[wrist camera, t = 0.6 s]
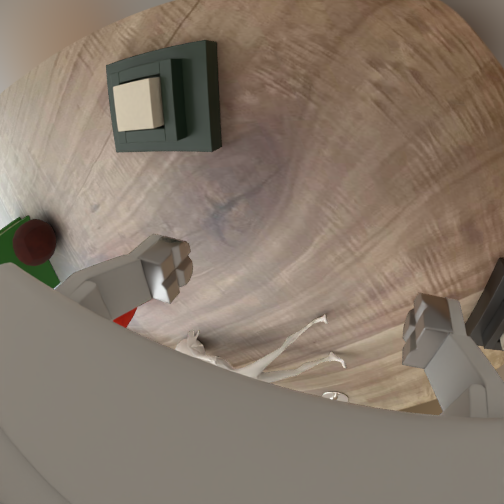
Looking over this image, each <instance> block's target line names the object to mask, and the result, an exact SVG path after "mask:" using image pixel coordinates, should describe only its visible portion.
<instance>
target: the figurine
mask: <svg viewBox="0 0 504 504" xmlns="http://www.w3.org/2000/svg"><path fill="white" fill-rule="evenodd" d="M320 321H324V322H325V323H327V324H328V319H327V316H326V314H324V316H322V317H318V318H315V319H314V320H312V321H311V322H310V323H309V324H308V325H307V326H305V327H304V328H303V329H301V330H300V331H298V332H296V333H294V334H292V335H291V336H289V337H288V338H287V339H286V340H285V342H284V343H283V345H282V346H281V347H280V348H279V349H277V350H275V351H273V352H272V353H270V354H268V355H266V356H264V357H263V358H261V359H259V360H258V361H256V362H254V363H253V364H249V365H247V366H245V367H243V368H240V369H236V368H234V367H233V366H232V365H231V364H230V363H229V362H228V361H227V360H225V359H224V358H221V357H219V356H211V355H205V349H204V346H203V344H201V343H200V342H199V341H198V340H197V337H198V335H199V333H200V331H199V330H198V332H197V334H196V336H195V337H194V330H191V331H189V332H188V336H187V338H186V339H184V340H182V341H180V342H179V343H178V345H177V346H176V349H175V350H177V351H179V352H182V353H184V354H187V355H189V356H192V357H194V358H197V359H200V360H202V361H205V362H208V363H210V364H213V365H216V366H219V367H221V368H224V369H227V370H230V371H233V372H236V373H239V374H242V375H245V376H248V377H251V378H254V379H258V380H261V381H264V382H267V383H270V382H274V381H278V380H281V379H284V378H287V377H291V376H297V375H298V374H300V373H301V372H304V371H306V370H308V369H310V368H311V367H313V366H315V365H317V364H319V363H321V362H324V361H331V360H336V361H339V362H341V363H342V365H343V367H344V368H345V369H346V363H345V361H344V360H342V359H341V358H339V357H338V356H336V355H335V354H334V353H332V352H330V354H329V356H328V357H326V358H323V359H320V360H317V361H313V362H306V363H304V364H302V365H301V366H300V367H299V368H297V369H295V370H281V371H273V372H266V373H264V372H262V371H263V370H264V369H265V368H266V367H267V366H268V365H269V364H270V363H271V362H272V361H273V360H274V359H276V358H277V357H278V356H279V355H280V354H281V353H282V352H283V351H284V350H285V349H286V348H287V347H288V346H289V345H291V344H292V343H293V342H294V341H295V340H296V339H297V338H298V337H299V336H300V335H301V334H302V333H303V332H304V331H305V330H306V329H307V328H309V327H310V326H311V325H312V324H313V323H317V322H320Z"/></svg>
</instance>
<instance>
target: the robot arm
mask: <svg viewBox="0 0 504 504" xmlns="http://www.w3.org/2000/svg"><path fill="white" fill-rule="evenodd" d="M190 252H191V251H190V246H189V243H187V242H186V241H183V240H179V239H175V238H171V237H167V236H162V235H158V234H152V235H150V236H149V237H148V238H147V239H146V240H145V241H143V242H142V243H141V244H140V245H139V246H138V247H136V248H135V249H134V250H133V251H132V252H131V253H129V254H128V255H122V256H119V257H116V258H113V259H110V260H107V261H105V262H102V263H99V264H96V265H93V266H91V267H88V268H85V269H82V270H79V271H77V272H74V273H73V274H72V275H71V276H70V277H68V278H67V279H66V280H65V281H64V282H63V283H62V284H61V285H60V286H58V287H57V288H56V289H55V290H54V289H53V288H51V287H49V286H48V285H46V284H44V283H43V282H41V281H39V280H38V279H36V278H35V277H33V276H32V275H30V274H29V273H27V272H25V271H24V270H22V269H21V268H20V267H18V266H17V265H15V264H13V263H4V264H1V265H0V504H504V382H503V380H502V379H501V377H500V376H499V375H498V373H497V372H496V370H495V369H494V367H493V366H492V365H491V363H490V362H489V360H488V359H487V358H486V356H485V355H484V354H483V352H482V351H481V350H480V348H479V347H478V346H477V345H476V343H475V342H474V341H473V339H472V338H471V337H469V336H467V334H466V329H465V324H464V319H463V314H462V310H461V306H460V302H459V301H458V300H457V299H451V298H446V297H445V298H443V297H438V296H434V295H429V294H424V293H418V294H417V296H416V298H415V300H414V309H412V310H410V311H409V313H408V315H407V317H406V320H405V324H404V329H403V339H404V341H405V342H406V344H405V345H404V347H403V357H402V365H406V366H411V367H417V368H422V369H424V371H425V373H426V375H427V377H428V380H429V382H430V384H431V386H432V388H433V390H434V392H435V395H436V397H437V399H438V401H439V403H440V406H441V408H442V410H443V412H442V413H441V414H440V415H428V414H418V413H409V412H401V411H395V410H388V409H381V408H375V407H370V406H364V405H358V404H353V403H348V402H343V401H338V400H334V399H329V398H325V397H320V396H316V395H312V394H308V393H304V392H300V391H296V390H292V389H289V388H285V387H281V386H278V385H274V384H271V383H267V382H264V381H261V380H258V379H254V378H251V377H248V376H245V375H242V374H239V373H236V372H233V371H230V370H227V369H224V368H221V367H219V366H216V365H213V364H210V363H208V362H205V361H202V360H200V359H197V358H194V357H192V356H189V355H187V354H184V353H182V352H179V351H177V350H174V349H172V348H170V347H167V346H165V345H162V344H160V343H158V342H156V341H153V340H151V339H149V338H147V337H144V336H142V335H140V334H138V333H136V332H133V331H131V330H129V329H127V328H125V327H123V326H121V325H119V324H117V323H115V322H113V320H114V319H116V318H118V317H120V316H121V315H123V314H125V313H127V312H129V311H131V310H133V309H134V308H136V307H138V306H140V305H142V304H144V303H145V302H147V301H149V300H151V299H152V298H154V299H157V300H160V301H163V302H166V303H169V304H171V302H172V301H173V300H174V299H175V297H176V296H177V295H178V294H179V293H180V290H179V287H182V286H184V285H186V284H187V283H188V282H189V280H190V278H191V276H192V273H193V263H192V260H191V259H190V258H189V256H188V255H189V253H190Z"/></svg>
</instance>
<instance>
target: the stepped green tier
mask: <svg viewBox="0 0 504 504" xmlns="http://www.w3.org/2000/svg"><path fill="white" fill-rule="evenodd" d="M106 73H107V85H108V95H109V104H110V112H111V120H112V127H113V134H114V140H115V147H116V152H145V151H196V152H213V151H215V150H217V149H219V148H220V147H222V143H221V127H220V109H219V89H218V68H217V43H216V42H215V41H209V40H202V41H196V42H191V43H186V44H181V45H176V46H171V47H167V48H163V49H159V50H155V51H151V52H147V53H144V54H140V55H137V56H133V57H130V58H127V59H123V60H120V61H117V62H114V63H111V64H109V65H106ZM155 77H160V81H161V94H162V105H163V116H164V125H162V126H159V127H156V128H153V129H140V130H130V131H121V132H119V131H118V126H117V118H116V110H115V102H114V92H113V87H114V86H118V85H122V84H126V83H130V82H134V81H138V80H143V79H147V78H155Z"/></svg>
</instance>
